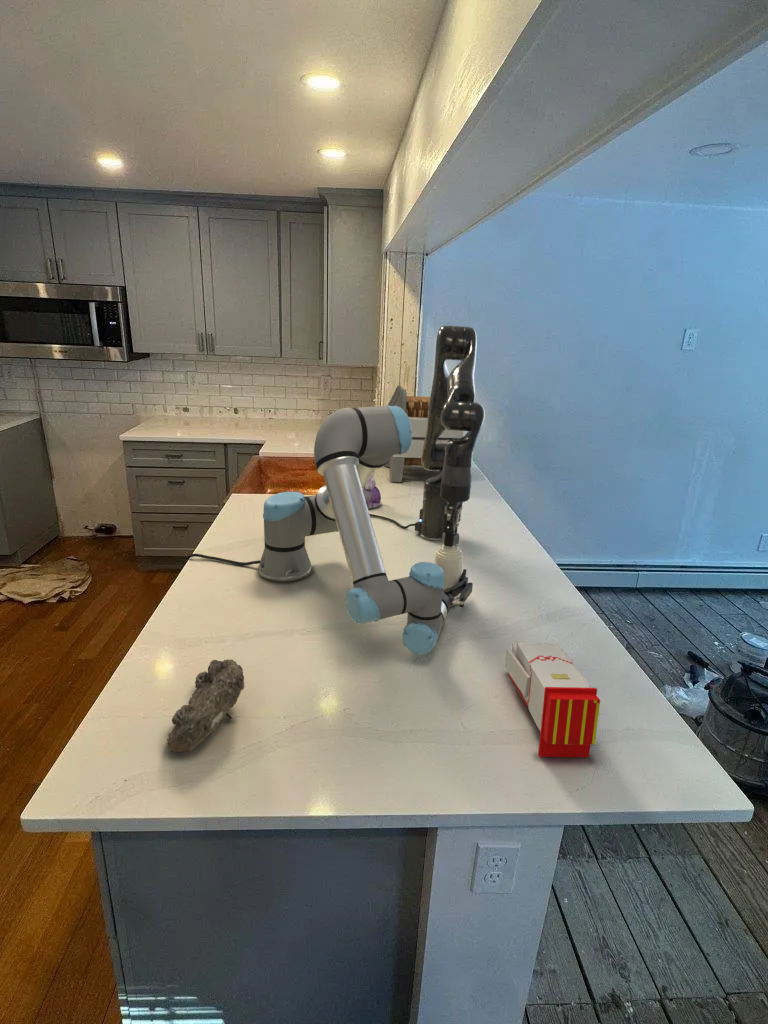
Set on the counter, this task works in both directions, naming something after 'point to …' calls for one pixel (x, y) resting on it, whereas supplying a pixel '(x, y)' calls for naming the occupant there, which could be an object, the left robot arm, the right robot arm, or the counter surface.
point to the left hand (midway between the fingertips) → (450, 571)
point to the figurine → (371, 493)
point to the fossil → (206, 705)
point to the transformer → (414, 432)
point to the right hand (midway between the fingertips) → (450, 542)
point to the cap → (456, 539)
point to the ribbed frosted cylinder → (449, 564)
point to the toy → (555, 698)
